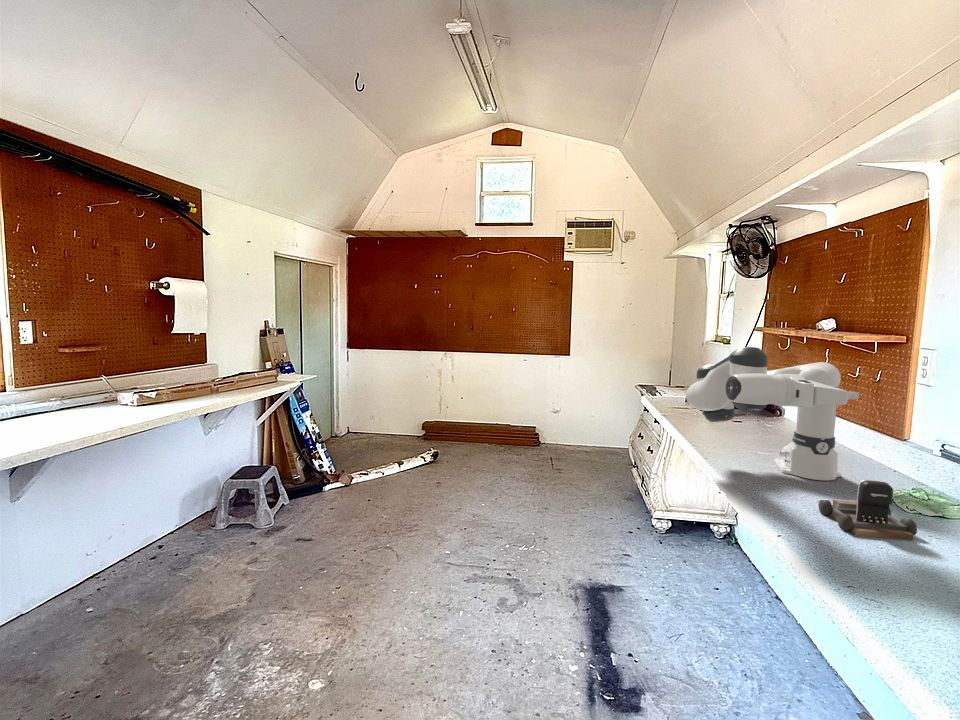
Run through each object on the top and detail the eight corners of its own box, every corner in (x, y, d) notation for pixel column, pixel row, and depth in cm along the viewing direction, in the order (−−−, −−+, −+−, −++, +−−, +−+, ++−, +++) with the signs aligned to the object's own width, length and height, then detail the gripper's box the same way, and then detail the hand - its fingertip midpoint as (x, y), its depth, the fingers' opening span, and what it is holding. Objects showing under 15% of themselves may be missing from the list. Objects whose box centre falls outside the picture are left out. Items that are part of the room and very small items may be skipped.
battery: (859, 525, 130) (864, 482, 129) (853, 519, 134) (857, 478, 132) (891, 529, 128) (896, 486, 127) (884, 523, 131) (889, 481, 130)
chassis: (815, 509, 144) (816, 495, 143) (877, 513, 141) (879, 499, 141) (849, 535, 127) (850, 520, 127) (920, 541, 125) (922, 525, 124)
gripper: (774, 395, 148) (825, 397, 146) (808, 408, 128) (868, 411, 126) (776, 374, 147) (827, 375, 145) (811, 384, 127) (871, 386, 125)
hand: (847, 392), depth 135 cm, fingers open, 8 cm apart
